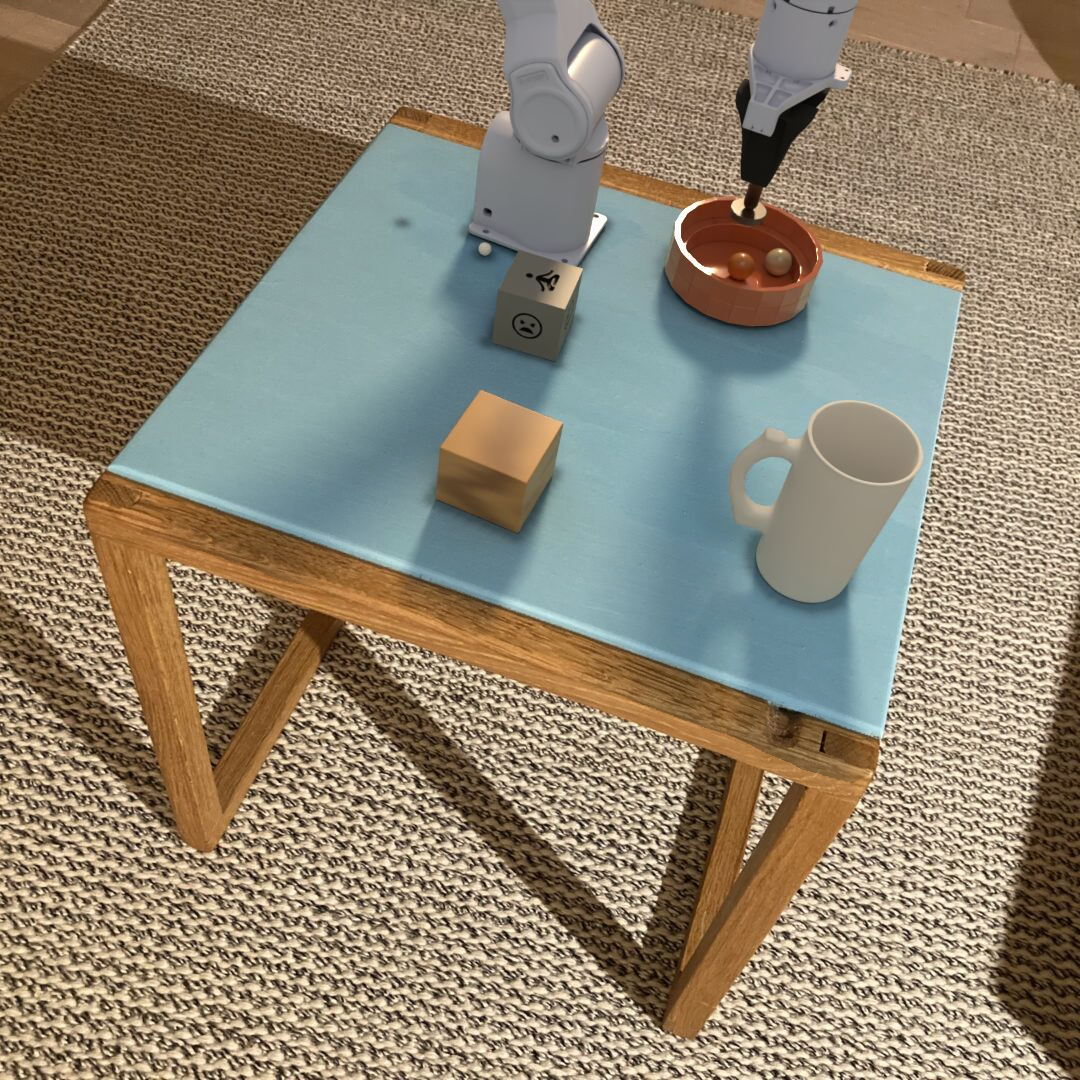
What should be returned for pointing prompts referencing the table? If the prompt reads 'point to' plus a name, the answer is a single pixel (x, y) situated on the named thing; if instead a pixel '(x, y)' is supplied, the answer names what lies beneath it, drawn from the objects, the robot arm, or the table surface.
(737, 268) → the amber bead
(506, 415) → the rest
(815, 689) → the table surface
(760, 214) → the brown peg
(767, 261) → the cream bead
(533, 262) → the dice cube
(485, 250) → the sphere
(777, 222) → the bowl
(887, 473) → the mug
